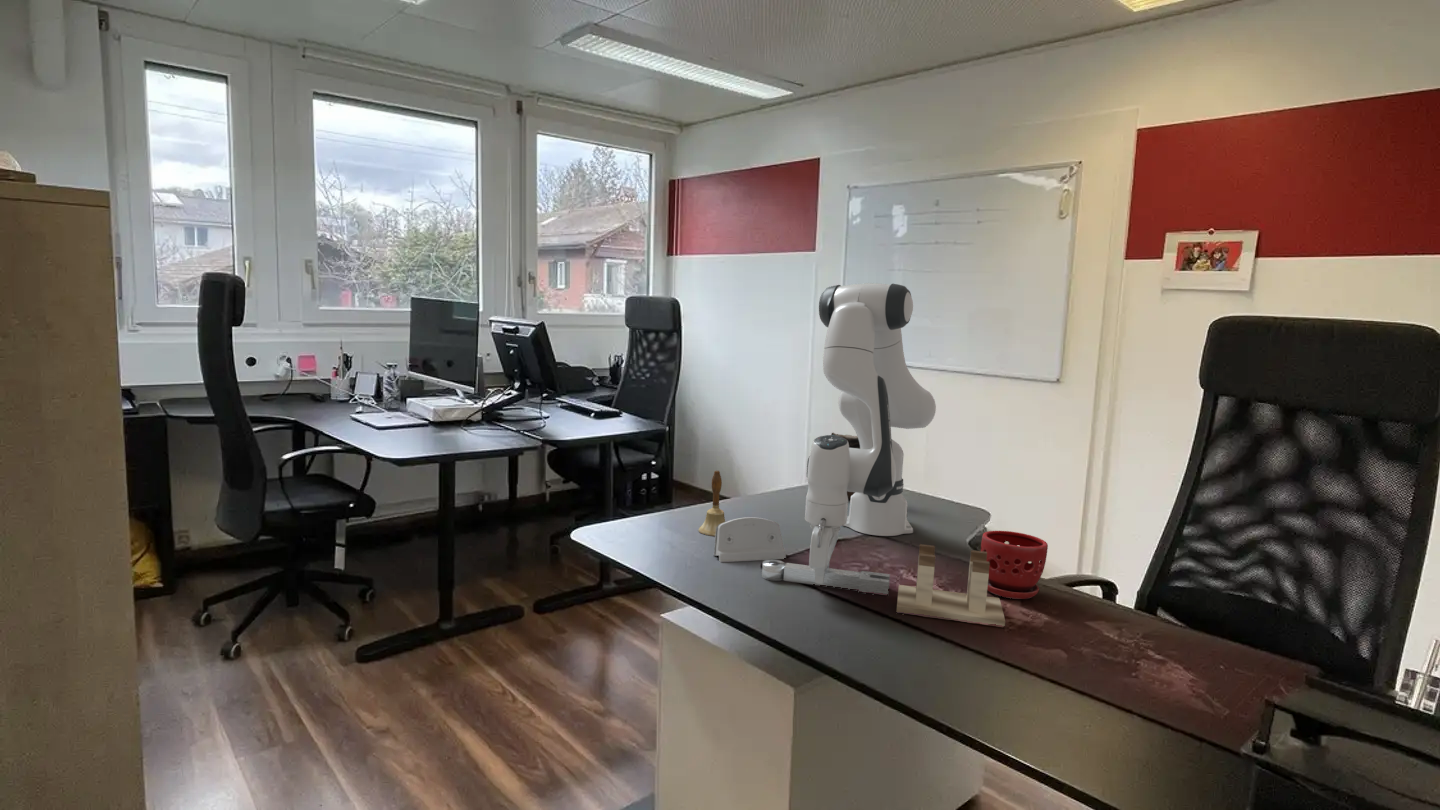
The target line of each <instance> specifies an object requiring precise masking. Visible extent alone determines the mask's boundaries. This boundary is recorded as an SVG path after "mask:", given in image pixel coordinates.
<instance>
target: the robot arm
mask: <svg viewBox="0 0 1440 810" xmlns="http://www.w3.org/2000/svg"><path fill="white" fill-rule="evenodd" d="M913 311H914V302H913V298H912V293H911V291H910V290H909V289H908V288H907V286H905V285H902V284H897V283H891V284H887V283H878V282H876V283H875V282H865V283H855V284H852V283H851V284H846V285H841V284H838V285H837V284H836V285H831V286H829V287H826V288H825V290H824V291H822V293H821V294H820V298H819V303H818V314H819V319H820V321H821V322H822V324H823V325H824V326H825V327H826V328H827V331H826V336H825V341H824V348H823V355H822V356H823V357H822V368H823V369H822V371H823V374H824V376H825V378H826V380H827V381H828V382H829V383H830V384H831V385H832V386H833V387H835V388H836V389H837V390H839V391H840V393H839V396H838V402H837V403H838V408H839V411H840V414H841V415H842V416H843V418H844V419H845V420H847V421H848V422H849V424H850V425H851V427H852V428H853V429H854V432H855V434H856V436H857V437H858V440H859V444H860V449H858V448H849V443H848V441H847V440H846V439H845V438H843V437H840V436H835V435H831V434H830V435H829V434H827V435H826V434H825V435H820V436H818V437H816V438H814V440H813V441H812V444H811V448H810V452H809V456H808V458H807V463H806V465H807V466H806V478H807V479H806V480H807V484H808V489H807V493H806V497H805V507H804V510H805V511H804V513H805V514H804V520H805V521H806V522H807V523H808V524H809V525H810V526H809V527H810V529H811V530H812V533H811V537H810V547H809V559H808V566H810V568H813V569H814V570H815V583H816V584H823V583H824V577H825V574H824V573H825V570H826V569H827V568H830V560H831V558H832V555H833V552H834V550H835V546H836V544H837V541H838V537H839V533H840V531H841V527H843V526H844V527H847V528H850V529H851V530H853V531H856V532H857V533H858V532H859V533H862V534H865V535H872V536H879V537H894V536H899V535H903V534H913V533H914V528H913V527H912V525H911V524H910V522H909V521H908V519H907V518H908V512H907V511H908V501H907V499H906V498H905V497H904V496H903V494H902V493H903V491H904V478H903V468H904V467H903V466H904V457H905V454H904V450H903V448H902V446H901V445H900V444H899V443H898V442H897V441H895V440H894V439H892V429H891V428H896V429H897V428H899V429H906V430H909V429H910V430H912V429H913V430H914V429H923V428H924V429H925V428H926V427H927V426H929V425H930V424H931V423H932V421H933V419H934V418H935V415H936V412H937V411H936V410H937V404H936V401H935V399H934V396H933V395H932V394H931V392H930V391H928V390H927V389H926V388H925V387H923V386H921V384H920V383H918V382H917V380H916V379H915V378H914V376H913V375H912V373H911V372H910V370H909V368H908V365H907V364H906V359H905V353H904V345H903V336H902V335H903V334H902V328H904V327H906V326H907V325H908V324H909V323H910V321H911V318H912V315H913ZM847 491H848V492H855V493H854V494H853V495H852V496H851V499H850V501H848V496H847ZM849 502H850V503H849ZM848 505H849V507H848ZM848 509H849V511H848Z"/></svg>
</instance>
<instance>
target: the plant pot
mask: <svg viewBox="0 0 1440 810" xmlns="http://www.w3.org/2000/svg"><path fill="white" fill-rule="evenodd" d="M1006 542H1007V543H1006ZM1048 547H1049V546H1048V542H1046V540H1045V539H1044V540H1043V539H1042V538H1039V537H1038V536H1034V535H1031V534H1027V533H1022V532H1017V531H1009V530H988V531H985V532H983V533H982V537H981V542H980V551H983V552H987V560H986V561H987V562H989V563H990V566H989V577H988V587H987V592H989V593H991V594H993V595H996V596H997V597H998V596H999V597H1001V596H1002V597H1001V598H1005V597H1006V598H1010V599H1011V598H1012V599H1013V600H1027V599H1030V598H1033V597H1035V596H1036V595H1037V594H1038V593H1039V592H1040V591H1039V590H1040V589H1039V588H1040V587H1039V586H1038V585H1037V584H1038V582H1039V580H1040V579H1041V577H1042V576H1043V573H1044V570H1045V565H1046V562H1047V556H1048V549H1049V548H1048ZM1006 598H1005V599H1006ZM1012 599H1011V600H1012Z"/></svg>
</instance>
